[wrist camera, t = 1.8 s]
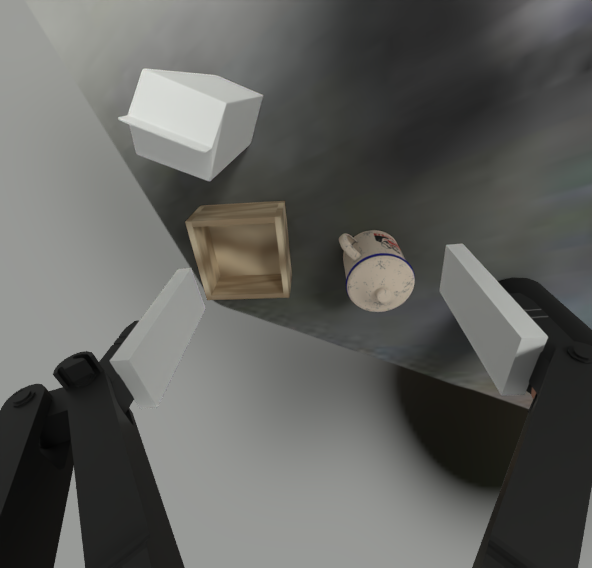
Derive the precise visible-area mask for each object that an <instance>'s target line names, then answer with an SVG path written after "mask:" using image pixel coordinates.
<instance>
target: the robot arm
mask: <svg viewBox="0 0 592 568" xmlns="http://www.w3.org/2000/svg"><path fill="white" fill-rule="evenodd" d="M440 293H441V295H442V296H443V298H444V300H445V301H446V303H447V305H448V306H449V308H450V310H451V312H452V313H453V315H454V317H455V318H456V320H457V322H458V323H459V325H460V327H461V328H462V330H463V332H464V333H465V335H466V337H467V338H468V340H469V342H470V343H471V345H472V347H473V348H474V350H475V352H476V353H477V355H478V357H479V358H480V360H481V362H482V364H483V365H484V367H485V369H486V370H487V372H488V374H489V375H490V377H491V379H492V380H493V382H494V384H495V385H496V387H497V389H498V390H499V392H500V394H501V395H502V396H503V395H525V392H526V390H527V388H528V385H529V383H530V385H531V386H532V388H533V389H534V390H535V392H536V395H535V397H534V399H533V402H532V404H531V406H530V409H529V411H528V416H527V419H526V422H525V424H524V427H523V430H522V432H521V435H520V438H519V441H518V443H517V446H516V449H515V452H514V455H513V457H512V460H511V463H510V465H509V468H508V471H507V474H506V477H505V479H504V482H503V485H502V487H501V490H500V493H499V496H498V498H497V501H496V504H495V507H494V510H493V512H492V515H491V518H490V521H489V523H488V526H487V529H486V531H485V534H484V537H483V540H482V542H481V545H480V548H479V551H478V553H477V556H476V559H475V562H474V564H473V567H472V568H578V564H579V559H580V552H581V547H582V540H583V535H584V529H585V522H586V517H587V511H588V505H589V499H590V492H591V487H592V346H591V345H588V344H586V343H581V342H576V341H573V340H572V339H571V338H570V337H569V336H568V335H567V334H566V333H565V332H564V331H563V330H562V329H561V328H560V327H559V326H558V325H557V324H556V323H555V322H554V321H553V320H552V319H551V318H550V317H548V315H547V314H546V313H545V312H544V311H543V310H541V308H540V307H539V306H538V305H537V304H536V303H535V302H534V301H533V300H532V299H530V298H528V297H526V296H525V295H523V294H521V293H510V294H508V292H507V291H506V290H505V289H504V288H503V287H502V286H501V285H500V284H499V283H498V282H497V280H496V279H495V278H494V277H493V276H492V275H491V274H490V273H489V272H488V271H487V270H486V268H485V267H484V266H483V265H482V264H481V263H480V262H479V261H478V260H477V259H476V258H475V257H474V255H473V254H472V253H471V252H470V251H469V250H468V249H467V248H466V247H465V246H464V245H463V243H462V244H451V245H446V249H445V256H444V263H443V270H442V277H441V284H440ZM205 309H206V307H205V305H204V302H203V299H202V296H201V294H200V291H199V288H198V285H197V282H196V279H195V277H194V274H193V271H192V268H184V269H178V270H177V271H176V272H175V274H174V275H173V276H172V278H171V279H170V280H169V282H168V283H167V284H166V286H165V287H164V288H163V290H162V291H161V292H160V294H159V295H158V296H157V298H156V299H155V300H154V302H153V303H152V304H151V306H150V307H149V309H148V310H147V311H146V313H145V314H144V315H143V317H142V318H141V319H140V321H134V322H133V323H132V324H130V325H129V326H128V327H126V329H125V330H124V331H123V332H122V333H121V335H120V336H119V338H118V339H117V340H116V341H115V343H114V345H112V346H111V347H110V349H109V350H108V351H107V353H106V354H105V355H104V357H103V358H102V359H101V360H100V362H98V361H97V359H96V358H95V356H94V355H93V353H92V352H87V351H86V352H80V353H77V354H74V355H72V356H70V357H68V358H66V359H65V360H64V361H62V362H61V363H60V364H59V365H58V366H57V367H56V369H55V370H54V373H53V375H54V376H55V378H56V379H57V380H58V381H59V382H60V384H61V385H62V386H63V388H59V389H56V390H52V391H48V390H47V389H46V388H45V387H44V386H43V385H42V384H34V385H30V386H27V387H25V388H23V389H20V390H19V391H18V392H16V393H14V394H13V395H12V396H11V397H10V398H9V399H8V400H7V401H6V402H5V403H4V405H3V406H2V408H1V410H0V568H54V563H55V557H56V553H57V548H58V543H59V537H60V532H61V527H62V522H63V517H64V512H65V507H66V502H67V497H68V492H69V487H70V481H71V476H72V471H73V466H74V470H75V479H76V489H77V498H78V507H79V516H80V525H81V533H82V542H83V551H84V560H85V568H184V565H183V562H182V559H181V556H180V553H179V550H178V547H177V544H176V541H175V538H174V535H173V532H172V529H171V526H170V523H169V520H168V517H167V514H166V511H165V508H164V505H163V502H162V499H161V496H160V493H159V490H158V488H157V485H156V481H155V479H154V476H153V472H152V469H151V467H150V464H149V461H148V458H147V455H146V452H145V449H144V446H143V443H142V440H141V437H140V434H139V431H138V428H137V425H136V422H135V419H134V416H133V413H132V411H131V410H130V408H129V407H130V405H131V403H132V401H133V400H135V402H136V403H137V405H138V406H139V408H157V407H158V405H159V403H160V401H161V399H162V397H163V395H164V393H165V391H166V389H167V387H168V385H169V383H170V381H171V379H172V377H173V375H174V373H175V370H176V369H177V366H178V364H179V362H180V360H181V358H182V356H183V354H184V352H185V350H186V348H187V346H188V344H189V342H190V340H191V338H192V336H193V334H194V332H195V330H196V327H197V325H198V323H199V321H200V319H201V317H202V315H203V313H204V311H205Z"/></svg>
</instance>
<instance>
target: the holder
mask: <svg viewBox="0 0 592 568" xmlns="http://www.w3.org/2000/svg"><path fill="white" fill-rule="evenodd" d="M185 223H186V227H187V230H188V234H189V237H190V241H191V244H192V248H193V252H194V255H195V259H196V262H197V266H198V269H199V273H200V276H201V280H202V283H203V287H204V291H205V294H206V298H207V300H226V299H258V298H289V296H290V288H291V280H292V270H291V259H290V249H289V239H288V228H287V218H286V207H285V201H272V202H254V203H237V204H220V205H203V206H200V207H199V208H198V209H197V210H196V211H195V212H194V213H193V214H192V215H191V216H190V217H189V218H188V219H187V220H186V221H185Z"/></svg>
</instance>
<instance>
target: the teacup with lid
mask: <svg viewBox="0 0 592 568" xmlns="http://www.w3.org/2000/svg"><path fill="white" fill-rule="evenodd" d="M339 243H340V245H341V247H342V249H343V250H344V253H343V262H344V268H345V275H346V291H347V294H348V296H349V298H350V299H351V300H352V301H353V303H354V304H356V305H357V306H358V307H360V308H362V309H364V310H367V311H372V312H383V311H388V310H391V309H394V308H396V307H398V306H399V305H401V304H402V303H403V302H405V301H406V300H407V298H408V297H409V296H410V294H411V292H412V290H413V288H414V283H415V275H414V271H413V269H412V267H411V265H410V264H409V263H408V262H407V261H406V260H405V258H404V256H403V254H402V252H401V250H400V248H399V246H398V244H397V242H396V241H395V239H394V238H393V237H392V236H391V235H389V234H387V233H385V232H383V231H378V230H369V231H365V232H362V233H359V234H358V235H356V236H354V237H352V236H351V235H349V234H347V233H344V234H342V235H341V236H340V237H339Z"/></svg>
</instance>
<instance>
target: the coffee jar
mask: <svg viewBox="0 0 592 568" xmlns="http://www.w3.org/2000/svg"><path fill="white" fill-rule="evenodd" d="M498 283H499V284H500V285H501V286H502V287H503V288H504V289H505V290H506V291H507V292H508V294H510V293H521V294H523V295H525V296H526V297H528V298H530V299H532V300H533V301H534V302H535V303H536V304H537V305H538V306H539V307H540V308H541V310H543V311H544V312H545V313H546V314H547V315H548V317H550V318H551V319H552V320H553V321H554V322H555V323H556V324H557V325H558V326H559V327H560V328H561V329H562V330H563V331H564V332H565V333H566V334H567V335H568V336H569V337H570V338H571V339H572V340H573V341H576V342H581V343H586V344H588V345H591V346H592V330H591V329H590V328H589V327H588V326H587V325H586V324H584V323H583V322H582V321H581V320H580V319H579V318H578V317H577V316H575V315H574V314H573V313H572V312H571V311H570V310H569V309H568V308H566V307H565V306H564V305H563V304H562V303H561V302H560V301H559V300H557V299H556V298H555V297H554V296H553V295H552V294H551V293H550V292H548V291H547V290H546V289H545V288H544V287H543V286H542V285H541V284H539V283H538V282H536V281H533V280H531V279H527V278H509V279H505V280H501V281H499V282H498ZM526 391H528V392H529V393H530V394H531V395H532V397H533V399H534V397H535V395H536V392H535V390H534V389H533V388H532V386H531V385H530V383H529V385H528V388H527V390H526Z"/></svg>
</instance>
